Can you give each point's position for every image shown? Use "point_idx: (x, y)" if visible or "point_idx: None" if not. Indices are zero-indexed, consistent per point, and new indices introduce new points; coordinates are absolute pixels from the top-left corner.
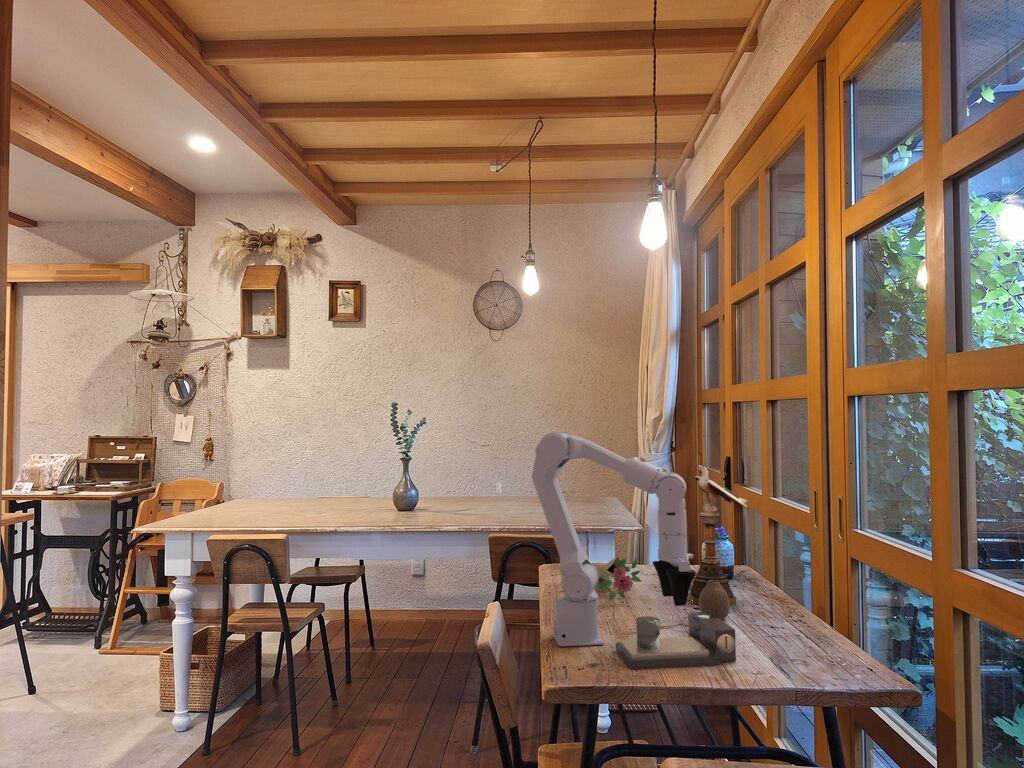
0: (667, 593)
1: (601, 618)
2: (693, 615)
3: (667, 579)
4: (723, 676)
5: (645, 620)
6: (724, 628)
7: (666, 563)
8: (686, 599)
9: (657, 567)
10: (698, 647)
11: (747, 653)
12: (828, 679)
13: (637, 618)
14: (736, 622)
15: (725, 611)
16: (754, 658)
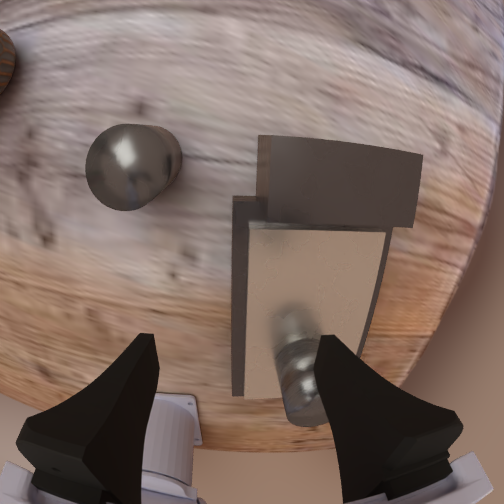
0: (155, 365)
1: (12, 341)
2: (132, 193)
3: (136, 414)
4: (438, 226)
5: (324, 413)
6: (405, 185)
7: (123, 495)
8: (348, 349)
9: (140, 495)
10: (354, 249)
11: (317, 77)
12: (478, 42)
13: (301, 425)
14: (34, 19)
15: (8, 40)
16: (359, 83)
